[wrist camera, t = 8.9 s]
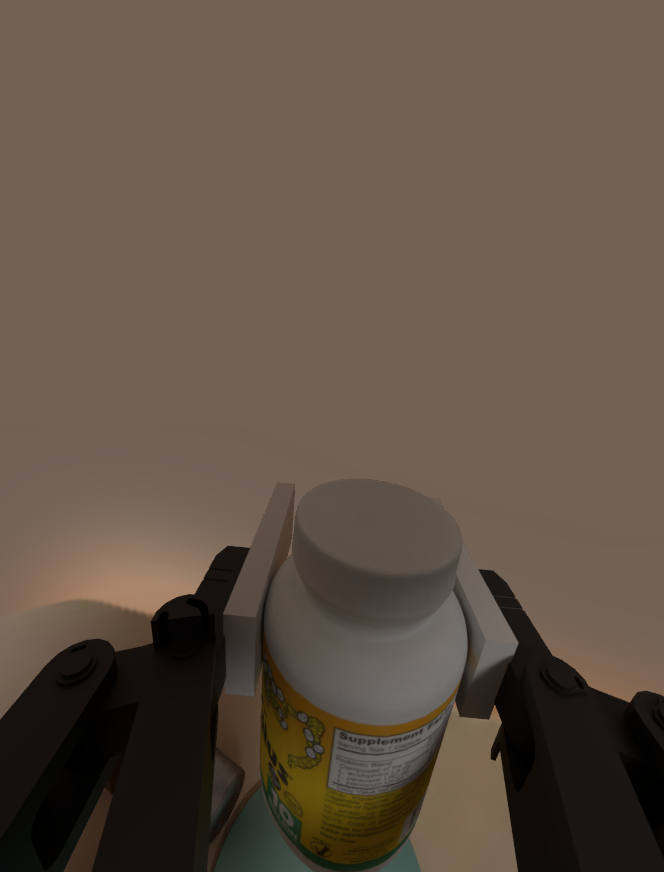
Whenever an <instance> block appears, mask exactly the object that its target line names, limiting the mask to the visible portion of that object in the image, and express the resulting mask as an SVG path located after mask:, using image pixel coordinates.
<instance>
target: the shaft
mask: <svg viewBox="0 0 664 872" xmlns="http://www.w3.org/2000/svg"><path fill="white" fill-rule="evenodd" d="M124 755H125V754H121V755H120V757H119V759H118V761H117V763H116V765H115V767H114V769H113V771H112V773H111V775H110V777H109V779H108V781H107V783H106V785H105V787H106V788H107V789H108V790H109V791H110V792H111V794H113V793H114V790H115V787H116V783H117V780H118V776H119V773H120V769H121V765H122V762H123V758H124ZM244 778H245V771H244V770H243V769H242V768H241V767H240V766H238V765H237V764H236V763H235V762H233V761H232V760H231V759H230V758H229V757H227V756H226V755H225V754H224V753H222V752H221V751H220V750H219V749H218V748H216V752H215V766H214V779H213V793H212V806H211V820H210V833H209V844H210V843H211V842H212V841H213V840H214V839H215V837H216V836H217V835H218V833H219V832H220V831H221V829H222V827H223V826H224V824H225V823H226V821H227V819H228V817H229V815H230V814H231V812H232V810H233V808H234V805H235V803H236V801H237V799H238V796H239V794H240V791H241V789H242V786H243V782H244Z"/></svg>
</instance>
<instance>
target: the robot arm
mask: <svg viewBox="0 0 664 872" xmlns="http://www.w3.org/2000/svg"><path fill="white" fill-rule="evenodd" d="M294 493H295V484H287V483H277V485H276V487H275V489H274V492H273V494H272V497H271V499H270V501H269V504H268V506H267V509H266V511H265V514H264V516H263V518H262V521H261V523H260V526H259V528H258V531H257V533H256V536H255V538H254V540H253V543H252V545H251V547H250V548H245V547H235V546H227V547H226V548H225V549H224V550H222V551H221V552H220V553H218V554H217V555H216V556H215V559H214V560H213V562H212V564H211V566H210V567H209V570H208V571H207V573H206V575H205V577H204V580H203V581H202V582H201V584H200V586H199V588H198V589H197V591H196V593H195V595H193V594H188V595H184V596H180V597H176V598H174V599H172V600H171V601H169V602H167V603H165V604H164V605H163V606H162V607H161V608H160V609H159V610H158V611H157V612H156V613H155V615H154V617H153V619H152V620H151V628H152V636H153V643H152V644H149V645H145V646H142V647H137V648H132V649H127V650H122V651H117V652H115V651H114V648H113V646H112V645H111V644H110V643H109V642H108V641H105V640H101V639H92V640H85V641H82V642H79V643H77V644H74V645H71V646H70V647H68V648H67V649H65V650H63V651H62V652H60V653H59V654H57V655H56V656H55V657H54V658H53V659H52V660H51V661H50V662H49V663H48V664H47V665H46V666H45V667H44V668H43V669H42V670H41V672H40V673H39V674H38V675H37V676H36V678H35V679H34V680H33V681H32V682H31V684H30V685H29V686H28V687H27V688H26V690H25V691H24V692H23V693H22V694H21V696H20V697H19V698H18V699H17V700H16V702H15V703H14V704H13V705H12V706H11V707H10V709H9V710H8V711H7V712H6V713H5V715H4V716H3V717H2V718H1V719H0V872H63V871H64V869H65V867H66V865H67V863H68V861H69V859H70V857H71V855H72V853H73V850H74V848H75V846H76V844H77V842H78V840H79V838H80V836H81V834H82V832H83V830H84V828H85V826H86V824H87V822H88V820H89V818H90V816H91V814H92V812H93V810H94V808H95V806H96V804H97V801H98V799H99V797H100V795H101V793H102V791H103V789H104V787H105V785H106V783H107V781H108V779H109V777H110V775H111V773H112V771H113V769H114V767H115V765H116V763H117V761H118V759H119V757H120V755H121V754H125V755H124V758H123V762H122V765H121V769H120V773H119V776H118V780H117V783H116V787H115V790H114V794H113V798H112V801H111V805H110V808H109V812H108V815H107V819H106V822H105V826H104V830H103V833H102V837H101V840H100V844H99V847H98V851H97V855H96V858H95V862H94V865H93V869H92V872H207V860H208V847H209V833H210V820H211V806H212V793H213V779H214V766H215V752H216V739H217V725H218V700H219V697H220V694H221V691H222V688H223V685H224V682H225V694H232V695H242V696H252V697H254V695H255V691H256V686H257V682H258V678H259V674H260V670H261V665H262V661H263V615H264V609H265V603H266V597H267V594H268V590H269V587H270V585H271V582H272V580H273V578H274V576H275V574H276V573H277V571H278V569H279V568H280V566H281V565H282V564H283V563H284V561H285V560H286V559H287V556H288V551H289V548H290V544H291V539H292V526H293V510H294ZM428 498H430V497H428ZM430 499H432V500H433V501H435V502H436V503H438V504H439V505H440V506H442V507H443V508H444V506H443V505H442V503H441V501H440V500H439V498H430ZM444 509H445V508H444ZM462 542H463V541H462ZM453 592H454V594H455V595H456V597H457V599H458V601H459V604H460V606H461V609H462V612H463V615H464V618H465V623H466V628H467V642H468V649H467V658H466V663H465V667H464V671H463V674H462V678H461V681H460V685H459V688H458V692H457V695H456V698H455V702H456V706H457V709H458V712H459V716H460V717H468V718H478V719H488V720H489V718H490V715H491V713H492V710H493V708H494V705H495V706H496V708H497V711H498V713H499V716H500V718H501V721H502V724H501V726H500V729H499V731H498V734H497V736H496V738H495V741H494V743H493V746H492V748H491V759H492V760H494V761H496V758H497V756H498V754H499V751H500V753H501V760H502V767H503V773H504V780H505V787H506V794H507V800H508V807H509V814H510V820H511V827H512V834H513V841H514V847H515V854H516V861H517V867H518V872H664V696H662V695H659V694H656V693H652V692H649V691H642V692H637V693H636V695H635V696H634V697H633V699H632V701H631V702H630V703H629V702H627V701H624V700H621V699H619V698H616V697H613V696H611V695H608V694H606V693H603V692H601V691H598V690H596V689H593V688H591V687H589V686H588V684H587V683H586V681H585V679H584V678H583V677H582V676H581V675H580V674H579V673H578V672H577V671H576V670H575V669H574V668H572V667H571V666H570V665H568V664H567V663H565V662H564V661H563V660H560V659H559V658H556V657H554V656H552V654H551V652H550V651H549V649H548V648H547V646H546V645H545V643H544V642H543V640H542V639H541V637H540V635H539V633H538V632H537V630H536V629H535V627H534V626H533V624H532V623H531V621H530V619H529V618H528V616H527V614H526V613H525V611H523V610H522V607H521V605H520V603H519V602H518V600H517V599H515V596H514V594H513V592H512V591H511V589H510V588H509V586H508V584H507V583H506V582H505V581H504V580H503V579H502V578H501V577H499V576H498V575H497V574H496V573H495V572H494V571H491V570H481V569H478V568H477V567H476V565H475V563H474V561H473V559H472V557H471V556H470V554H469V552H468V550H467V548H466V547H465V545H464V543H463V545H462V551H461V556H460V560H459V564H458V568H457V572H456V579H455V585H454V588H453Z"/></svg>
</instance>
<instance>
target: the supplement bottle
mask: <svg viewBox="0 0 664 872" xmlns="http://www.w3.org/2000/svg"><path fill="white" fill-rule="evenodd" d="M293 536H294V537H293V542H292V555H290V557H288V558H287V559H286V560H285V561H284V563H283V564H282V565H281V566H280V568H279V569H278V571H277V573H276V574H275V576H274V578H273V580H272V582H271V585H270V587H269V590H268V594H267V597H266V603H265V609H264V615H263V670H262V696H261V697H262V706H261V738H260V775H261V784H262V791H263V795H264V799H265V803H266V806H267V809H268V811H269V814H270V816H271V819H272V820H273V822H274V824H275V826H276V828H277V830H278V831H279V833H280V835H281V836H282V838H283V839H284V841H285V843H286V844H287V846H288V847H289V848H290V849H291V851H292V852H293V853H294V854H295V856H296V857H297V858H298V859H299V860H300V861H301V862H303V863H304V864H305V865H306V866H308V867H309V868H310V869H311V870H313V871H315V872H377V871H379V870H381V869H382V868H384V867H385V866H386V865H387V864H388V863H390V862H391V861H392V860H393V859H394V858H395V857H396V856H397V855H398V854H399V852H400V851H401V850H402V848H403V847H404V845H405V844H406V843H407V841H408V839H409V837H410V835H411V833H412V831H413V829H414V827H415V824H416V821H417V818H418V816H419V813H420V810H421V807H422V804H423V801H424V797H425V794H426V791H427V788H428V785H429V782H430V779H431V776H432V772H433V769H434V766H435V763H436V759H437V756H438V753H439V750H440V746H441V743H442V740H443V736H444V733H445V729H446V726H447V723H448V720H449V717H450V714H451V711H452V707H453V704H454V701H455V698H456V695H457V692H458V688H459V685H460V681H461V678H462V674H463V671H464V667H465V663H466V658H467V649H468V642H467V628H466V623H465V618H464V615H463V612H462V609H461V606H460V604H459V601H458V599H457V597H456V595H455V594H454V592H453V588H454V585H455V579H456V572H457V568H458V564H459V560H460V556H461V551H462V545H463V542H462V536H461V532H460V529H459V527H458V525H457V523H456V521H455V520H454V518H453V517H452V516H451V515H450V514H449V513H448V512H447V511H446V510H445V509H444V508H443V507H442V506H440V505H439V504H438V503H436V502H435V501H433V500H432V499H430V498H428V497H427V496H424V495H422V494H421V493H418V492H416V491H414V490H411V489H409V488H406V487H403V486H400V485H397V484H392V483H388V482H383V481H377V480H370V479H347V480H346V479H345V480H339V481H333V482H328V483H325V484H322V485H319V486H317V487H315V488H313V489H312V490H311V491H309V492H308V493H307V494H306V495H305V496H304V497H303V498H302V499H301V501H300V503H299V505H298V507H297V511H296V516H295V527H294V535H293Z"/></svg>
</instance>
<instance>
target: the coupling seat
mask: <svg viewBox="0 0 664 872" xmlns="http://www.w3.org/2000/svg"><path fill="white" fill-rule="evenodd" d="M214 872H315V871H313V870H311V869H310V868H309V867H308V866H306V865H305V864H304V863H303V862H301V861H300V860H299V859H298V858H297V857H296V856H295V854H294V853H293V852H292V851H291V849H290V848H289V847H288V846H287V844H286V843H285V841H284V839H283V838H282V836H281V835H280V833H279V831H278V830H277V828H276V826H275V824H274V822H273V820H272V819H271V816H270V814H269V811H268V809H267V806H266V803H265V799H264V795H263V791H262V786H261V787H260V788H259V789H258V790H257V791H256V792H255V793H254V795H253V796H252V797H251V798H250V799H249V801H248V802H247V804H246V805H245V806H244V808H243V809H242V811H241V812H240V814H239V815H238V817H237V819H236V821H235V822H234V824H233V826H232V828H231V830H230V832H229V834H228V836H227V838H226V840H225V843H224V845H223V847H222V850H221V852H220V855H219V858H218V861H217V863H216V866H215V869H214ZM377 872H421V871H420V867H419V864H418V861H417V858H416V855H415V852H414V850H413V847H412V844H411V842H410V840H409V839H408V841H407V843H406V844H405V845H404V847H403V848H402V850H401V851H400V852H399V854H398V855H397V856H396V857H395V858H394V859H393V860H392V861H391V862H390V863H388V864H387V865H386V866H385V867H384V868H382V869H381V870H379V871H377Z"/></svg>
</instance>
